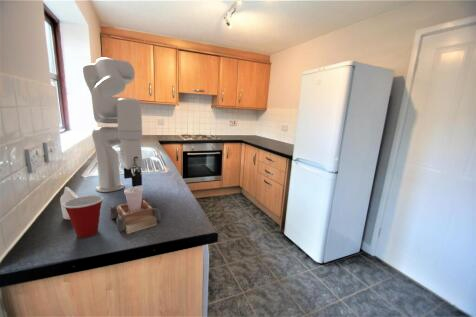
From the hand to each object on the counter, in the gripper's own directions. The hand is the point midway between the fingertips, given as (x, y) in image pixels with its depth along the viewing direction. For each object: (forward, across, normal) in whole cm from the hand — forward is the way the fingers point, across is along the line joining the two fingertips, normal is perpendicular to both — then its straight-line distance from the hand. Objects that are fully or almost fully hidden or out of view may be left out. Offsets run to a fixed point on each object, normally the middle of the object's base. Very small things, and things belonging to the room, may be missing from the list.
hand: (132, 181), depth 79 cm
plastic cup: (+15, +1, -15) cm, 22 cm away
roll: (+16, -16, -18) cm, 29 cm away
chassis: (+15, 0, 0) cm, 15 cm away
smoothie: (+13, +1, 0) cm, 13 cm away
